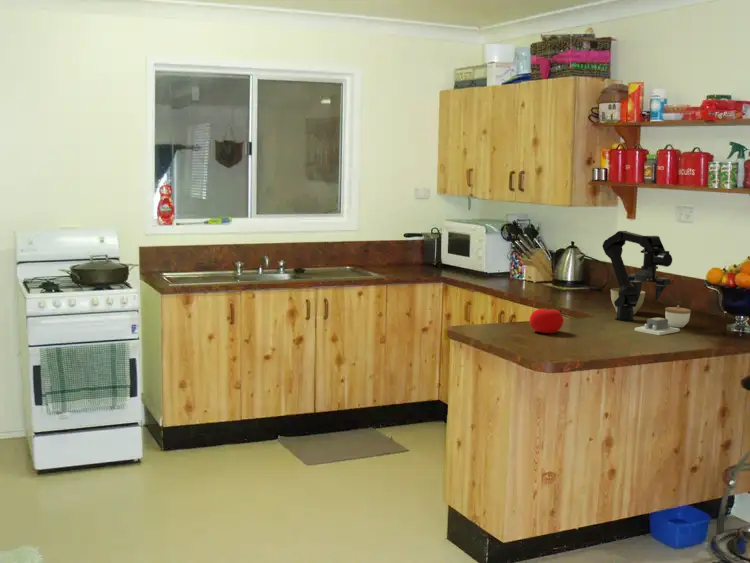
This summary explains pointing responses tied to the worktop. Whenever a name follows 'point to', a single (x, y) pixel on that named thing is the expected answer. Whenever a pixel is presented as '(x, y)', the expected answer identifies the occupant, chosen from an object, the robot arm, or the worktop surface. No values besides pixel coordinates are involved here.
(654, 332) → the white peg board
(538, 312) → the tomato
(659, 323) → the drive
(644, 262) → the robot arm
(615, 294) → the planter bowl
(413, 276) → the worktop surface
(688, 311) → the lidded jar
